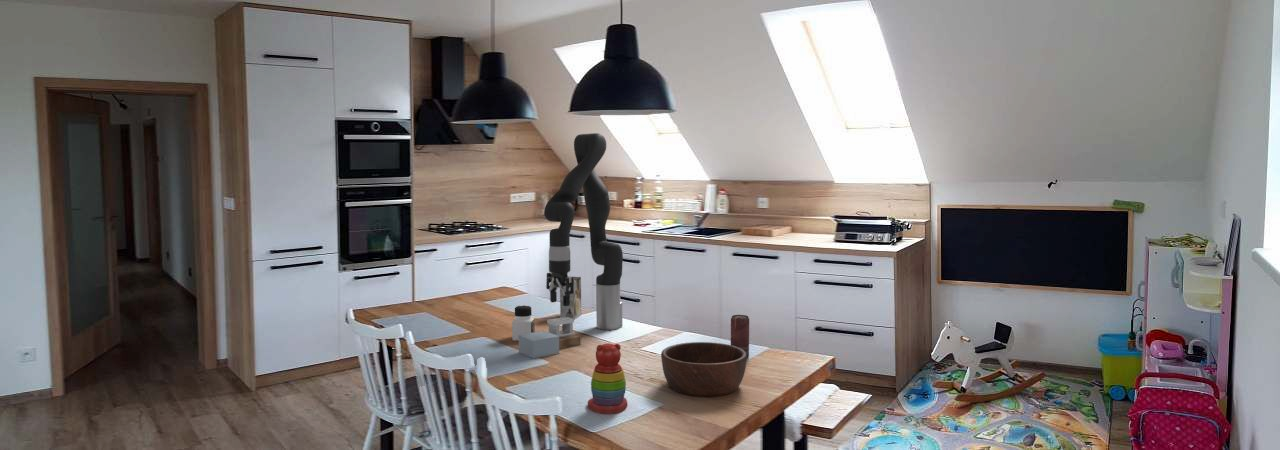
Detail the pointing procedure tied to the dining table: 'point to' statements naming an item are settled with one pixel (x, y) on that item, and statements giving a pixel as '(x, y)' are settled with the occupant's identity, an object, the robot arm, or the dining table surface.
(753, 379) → the dining table surface
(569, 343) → the stand
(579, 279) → the coffee box
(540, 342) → the stand
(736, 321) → the can
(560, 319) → the housing
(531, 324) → the medicine bottle
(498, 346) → the dining table surface
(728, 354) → the wooden bowl
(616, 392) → the stacking bear
